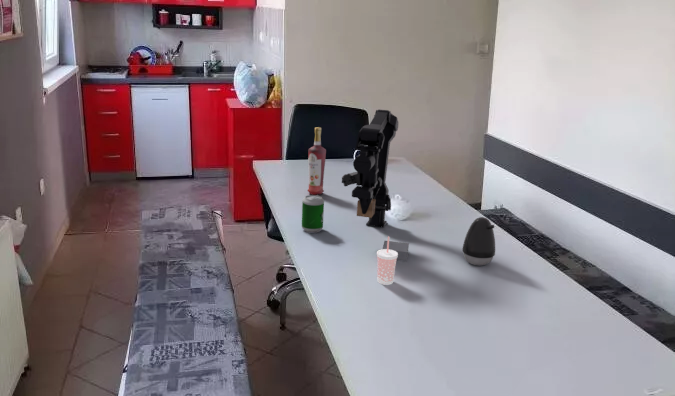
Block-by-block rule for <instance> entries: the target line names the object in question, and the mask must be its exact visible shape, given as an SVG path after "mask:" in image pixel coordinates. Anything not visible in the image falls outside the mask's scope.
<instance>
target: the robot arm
mask: <svg viewBox="0 0 675 396" xmlns="http://www.w3.org/2000/svg"><path fill="white" fill-rule="evenodd" d="M398 129H399V120H398V117H397V116H396V115H394V114H393V113H392V112H391V110H388V109H376V110H375V114H374V115H373V118H372V120H371V121H370V123H369V124H365V125H364V126H362V127H361V129H360V130H359V131H358V134H357V139H356V144H355V149H354V150H355V151H359V154H358V155H357V156H356V157H355V158H354V160H353V163H352V165H353V168H354V170H355V171H353V172H350V173H348V172H347V173H346V174H343V176H342V177H341V184H343V186H344V187H348V186H350V185H355V184H356V186H355V187H354V188H353V189H352V190H351V197H352V198H355V199H358V200H359V201H360V205H361V209H362V214H366V212H367V210H368V208H369V206H370V203H371V201H372V199H376V201H375V214H374V215H373V216H372V218H369V217H368V221H367V222H366V224H365V225H366V226H371V227H377V228H384V227H385V226H386V224H387V222H388V221H387V220H385V219H386V212H389V211H391V209H392V202H391V197H390V194H389V188H388V186H387V182H386V179H387V171H388V163H389V162H388V161H389V157H390V156H389V155H390V147H391V146H390V145H391V142H392V141H393V139H394V138H395V137H396V134H397V133H396V132H398Z"/></svg>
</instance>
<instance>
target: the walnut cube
mask: <svg viewBox="0 0 675 396" xmlns="http://www.w3.org/2000/svg"><path fill="white" fill-rule="evenodd" d="M375 201H376V199H372V201H371V203H370V206H369V208H368V210H367V212H366V214H362V209H361V205H360V201H359V199H358V200H357V203H356V204H357V205H356V206H357V207H356V216H357V217H362V218H368V219H369V218H372V216H373V215H374V214H375Z"/></svg>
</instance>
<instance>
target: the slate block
mask: <svg viewBox="0 0 675 396" xmlns="http://www.w3.org/2000/svg"><path fill="white" fill-rule="evenodd" d="M387 242H388V240H384V242H383V244H382V245H383V246H382V249H387ZM409 246H410V243H409V242H402V241H393V240H392V241H391V240H389V249H390V250H394V251H396V252H397V253H398V257H397V259H396V261H400V262H401V261H402V262H407V261H408V255H409V248H410V247H409Z"/></svg>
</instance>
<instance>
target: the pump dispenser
mask: <svg viewBox="0 0 675 396" xmlns="http://www.w3.org/2000/svg"><path fill="white" fill-rule="evenodd" d="M494 229H495V225H494V224H492V222H491V221H490V220H489V219H488V218H486V217H483V216H479V217H477V218H475V220H473V222H472V223H471V225H470V226H469V228H468V230H467V232H466V235H465V237H464V240H463V244H462V249H461V250H462V253H463V257H464V259H465V260H466V262H468V264H471V265H474V266H480V267H481V266H485V265H488V264H489V263H491V262H492V260H493V259H494V257H495V256H496V237H495V233H494Z"/></svg>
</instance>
